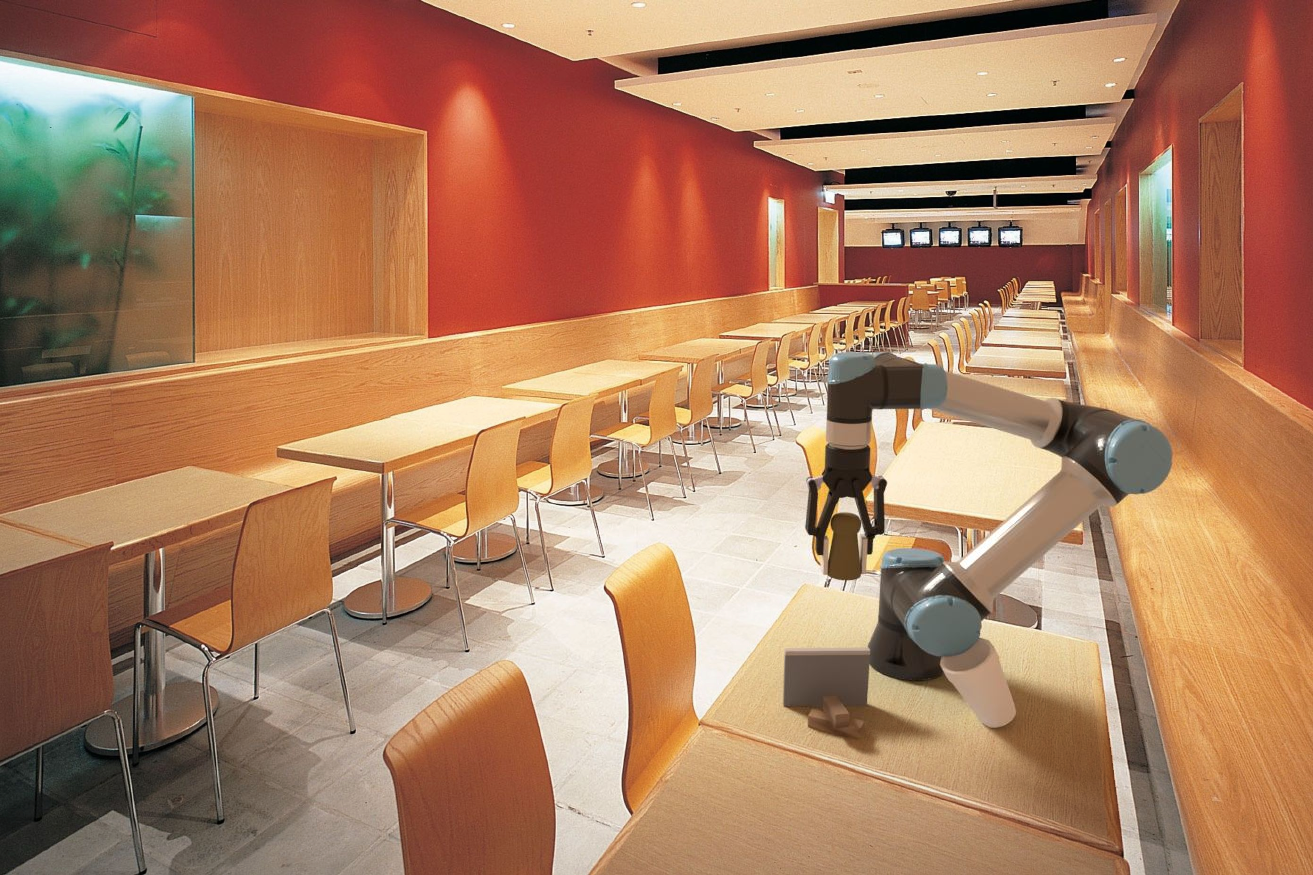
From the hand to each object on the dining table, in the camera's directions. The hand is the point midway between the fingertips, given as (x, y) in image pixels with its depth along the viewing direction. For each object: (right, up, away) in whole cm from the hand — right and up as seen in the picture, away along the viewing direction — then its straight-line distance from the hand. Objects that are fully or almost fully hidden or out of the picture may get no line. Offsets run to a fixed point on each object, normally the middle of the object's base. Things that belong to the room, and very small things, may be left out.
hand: (843, 571), depth 152 cm
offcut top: (-2, -24, -5) cm, 25 cm away
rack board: (-3, -25, +4) cm, 25 cm away
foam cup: (+27, -25, -2) cm, 36 cm away
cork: (0, -1, 0) cm, 1 cm away
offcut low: (-2, -27, -4) cm, 27 cm away
